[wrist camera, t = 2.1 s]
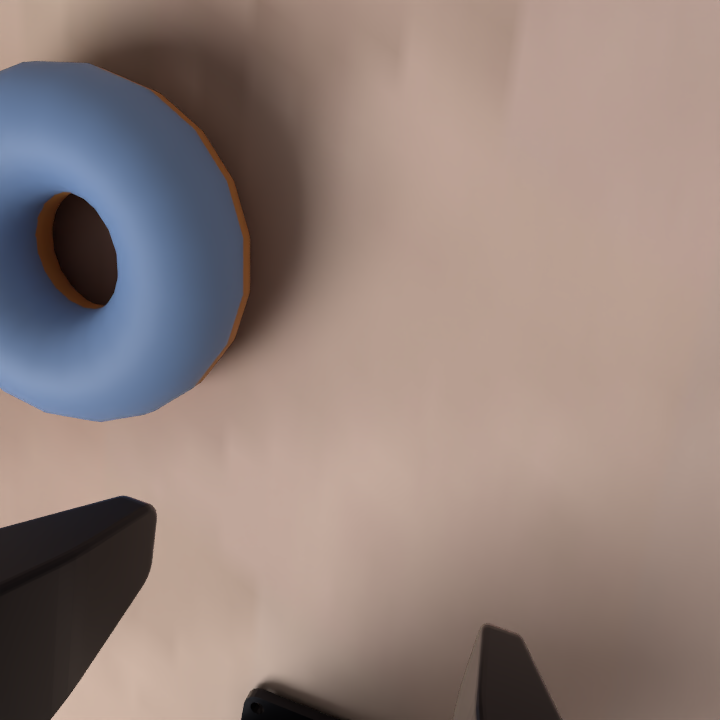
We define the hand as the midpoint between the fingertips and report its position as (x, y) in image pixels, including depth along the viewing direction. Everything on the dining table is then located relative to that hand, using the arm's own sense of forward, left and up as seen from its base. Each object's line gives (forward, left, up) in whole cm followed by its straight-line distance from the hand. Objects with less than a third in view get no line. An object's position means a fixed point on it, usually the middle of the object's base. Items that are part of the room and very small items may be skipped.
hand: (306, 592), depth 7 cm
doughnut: (+10, 0, -12) cm, 16 cm away
